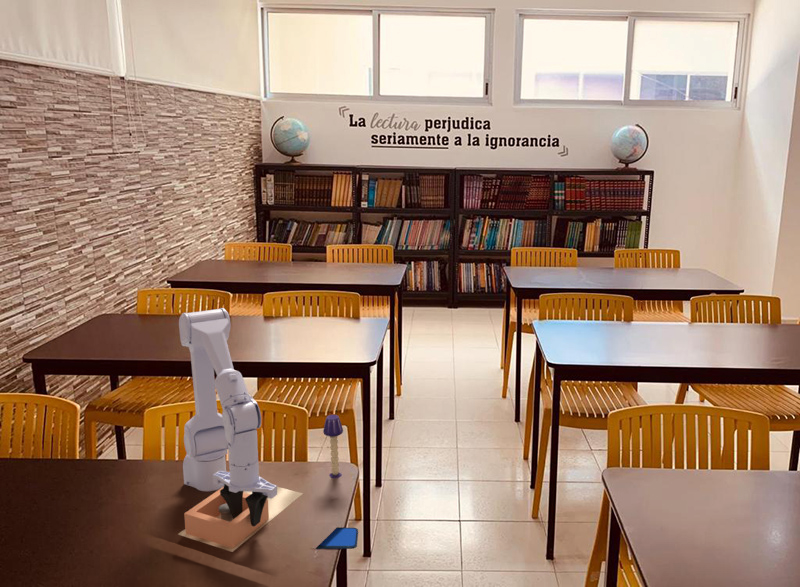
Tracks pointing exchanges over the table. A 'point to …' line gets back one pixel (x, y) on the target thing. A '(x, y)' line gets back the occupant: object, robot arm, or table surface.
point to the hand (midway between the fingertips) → (246, 520)
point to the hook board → (274, 508)
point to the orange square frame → (221, 521)
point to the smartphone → (340, 539)
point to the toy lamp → (333, 441)
